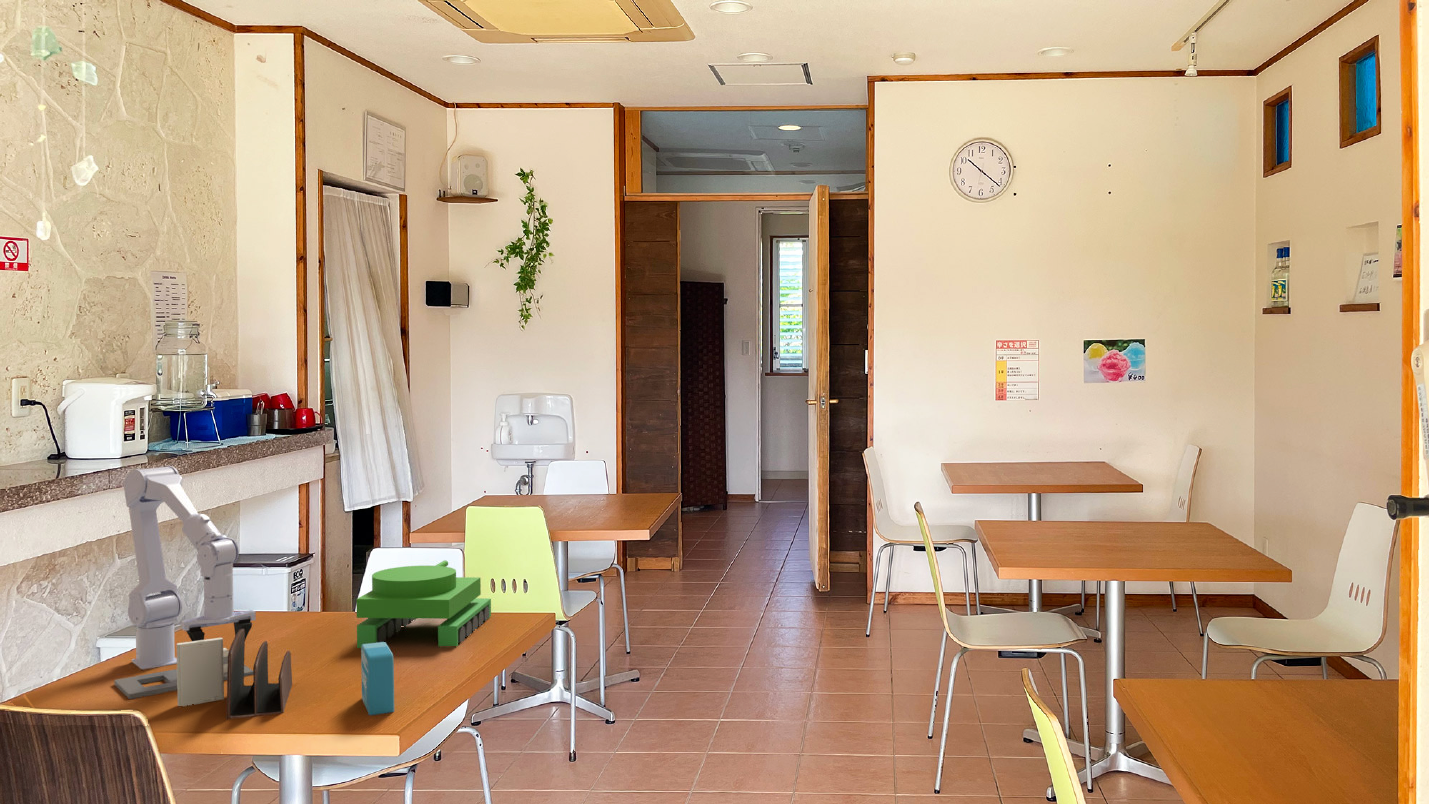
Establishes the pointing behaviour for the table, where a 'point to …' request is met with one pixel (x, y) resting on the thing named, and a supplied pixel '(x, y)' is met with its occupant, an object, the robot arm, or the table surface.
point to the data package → (377, 678)
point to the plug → (225, 659)
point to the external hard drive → (200, 671)
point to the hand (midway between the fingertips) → (220, 658)
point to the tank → (421, 603)
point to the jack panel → (135, 689)
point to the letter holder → (255, 683)
